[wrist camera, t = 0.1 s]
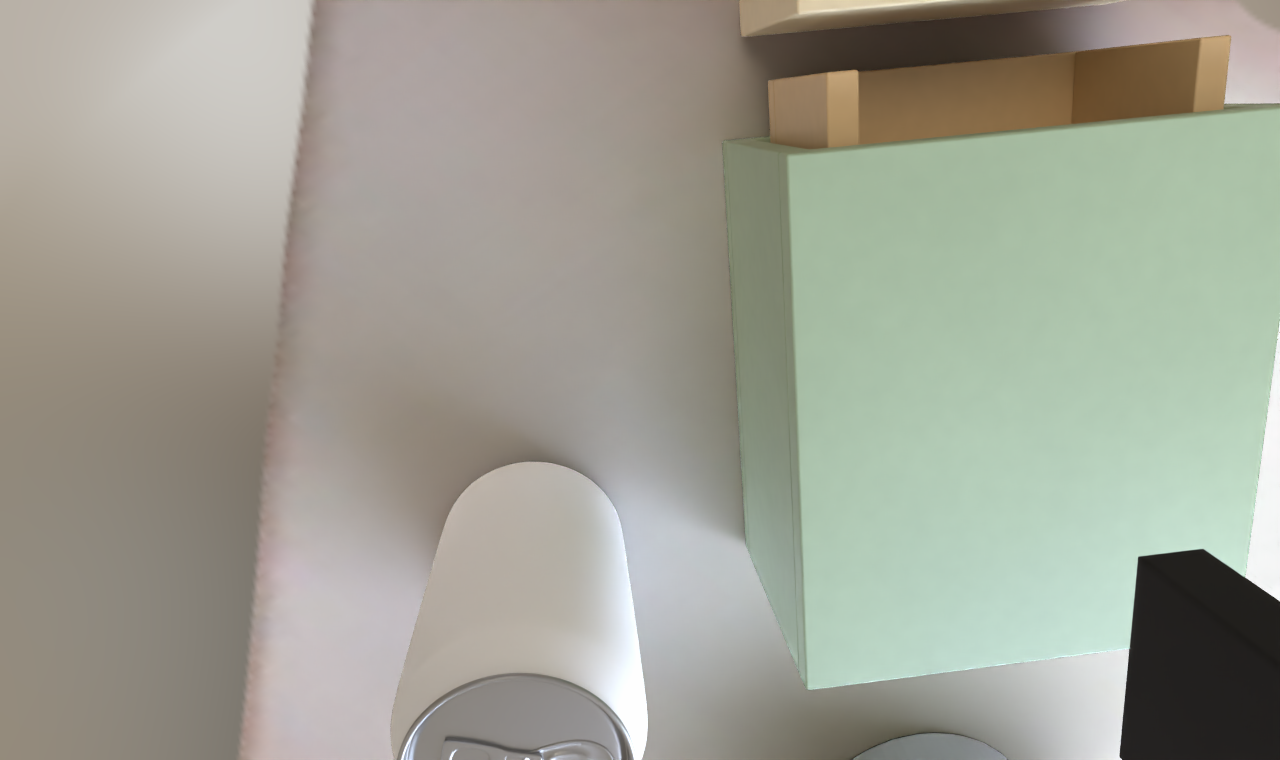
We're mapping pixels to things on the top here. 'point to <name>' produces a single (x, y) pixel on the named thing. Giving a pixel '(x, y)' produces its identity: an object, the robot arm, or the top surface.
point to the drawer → (976, 78)
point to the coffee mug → (932, 749)
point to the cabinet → (998, 379)
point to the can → (525, 629)
